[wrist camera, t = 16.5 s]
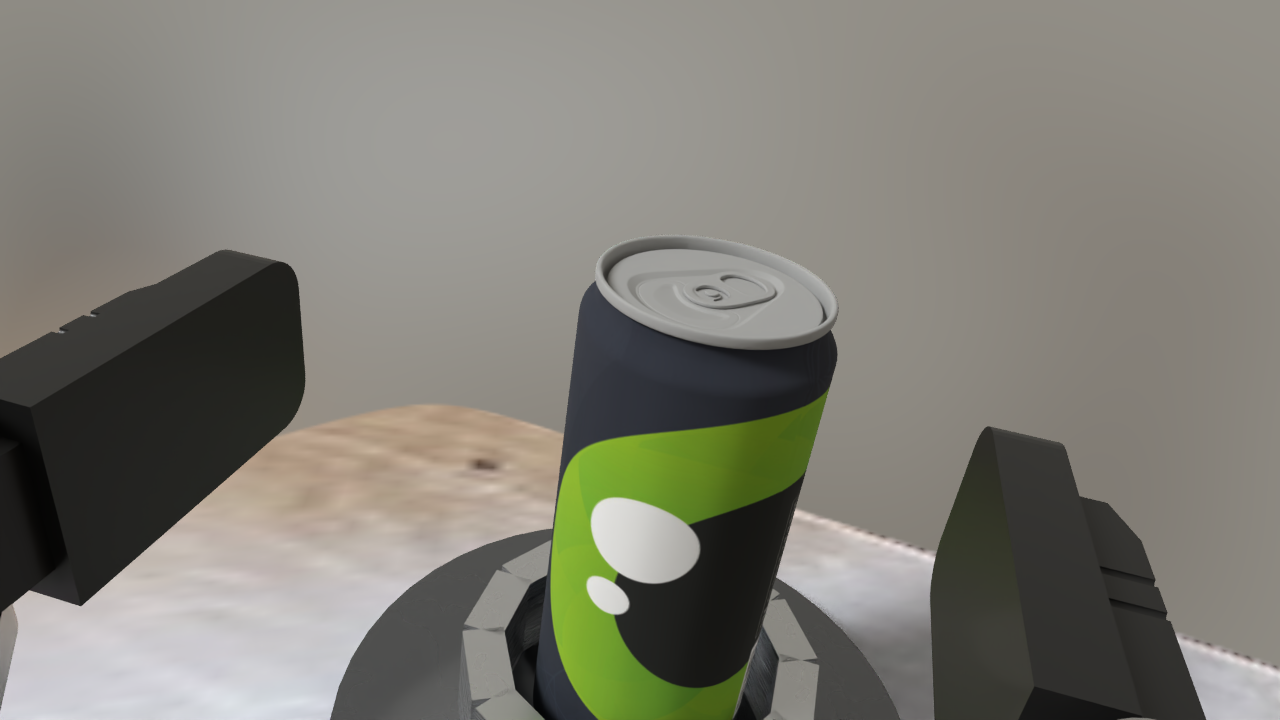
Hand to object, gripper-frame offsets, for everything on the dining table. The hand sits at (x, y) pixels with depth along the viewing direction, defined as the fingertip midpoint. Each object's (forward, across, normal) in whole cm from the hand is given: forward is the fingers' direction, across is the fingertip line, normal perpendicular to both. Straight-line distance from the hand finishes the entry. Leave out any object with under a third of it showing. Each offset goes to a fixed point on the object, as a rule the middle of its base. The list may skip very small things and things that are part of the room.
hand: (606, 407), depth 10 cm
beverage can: (+10, 0, +18) cm, 21 cm away
